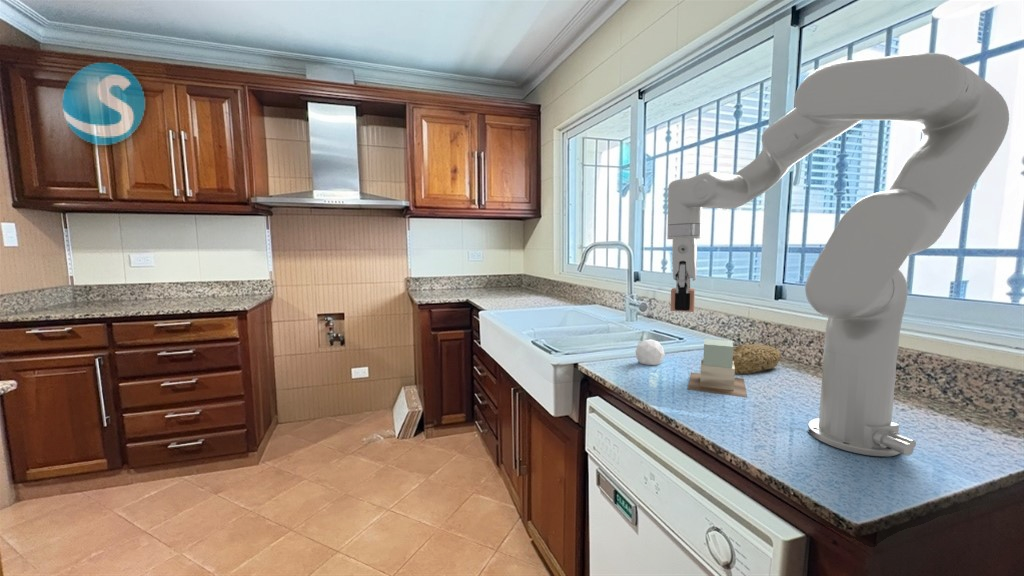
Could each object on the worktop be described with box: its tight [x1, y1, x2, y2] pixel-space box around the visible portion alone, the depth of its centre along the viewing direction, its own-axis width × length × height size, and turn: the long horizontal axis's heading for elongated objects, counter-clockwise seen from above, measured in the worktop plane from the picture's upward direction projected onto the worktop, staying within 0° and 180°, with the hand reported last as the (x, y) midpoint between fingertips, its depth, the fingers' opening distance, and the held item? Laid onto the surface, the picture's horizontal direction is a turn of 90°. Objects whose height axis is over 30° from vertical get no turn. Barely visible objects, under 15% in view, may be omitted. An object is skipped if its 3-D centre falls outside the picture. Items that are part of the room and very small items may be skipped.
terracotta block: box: [670, 287, 696, 313], centre depth 98 cm, size 5×5×5 cm
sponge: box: [733, 343, 782, 375], centre depth 112 cm, size 13×8×20 cm
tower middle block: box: [702, 338, 734, 368], centre depth 96 cm, size 6×6×5 cm
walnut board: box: [687, 371, 748, 399], centre depth 97 cm, size 14×12×1 cm
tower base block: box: [700, 357, 736, 391], centre depth 97 cm, size 7×7×5 cm
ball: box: [635, 339, 665, 366], centre depth 115 cm, size 8×8×8 cm
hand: (682, 307), depth 98 cm, fingers closed on terracotta block, 5 cm apart
